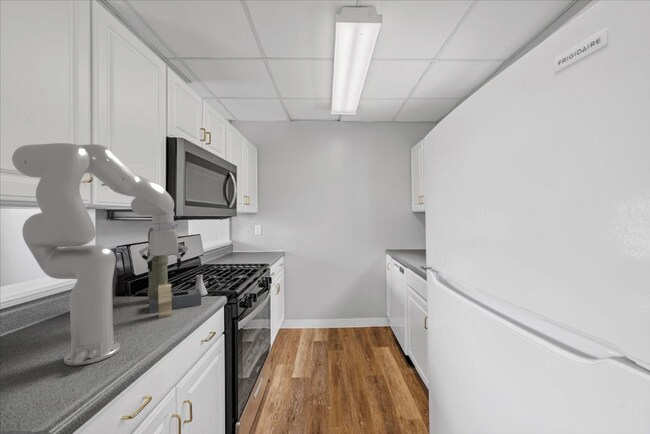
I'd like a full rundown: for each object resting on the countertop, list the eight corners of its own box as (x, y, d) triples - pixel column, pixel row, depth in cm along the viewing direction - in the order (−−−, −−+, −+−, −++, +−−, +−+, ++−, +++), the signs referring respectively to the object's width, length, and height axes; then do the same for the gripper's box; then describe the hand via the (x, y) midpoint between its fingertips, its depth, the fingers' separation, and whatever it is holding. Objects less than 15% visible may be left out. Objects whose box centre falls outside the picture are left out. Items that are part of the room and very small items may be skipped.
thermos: (169, 295, 146) (168, 226, 146) (168, 301, 135) (166, 227, 135) (149, 298, 142) (147, 227, 142) (146, 304, 131) (144, 227, 131)
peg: (171, 315, 115) (171, 285, 115) (158, 317, 113) (158, 287, 113) (171, 312, 119) (171, 283, 119) (159, 314, 117) (158, 285, 117)
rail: (201, 304, 129) (201, 293, 129) (149, 312, 120) (148, 300, 120) (199, 299, 138) (198, 288, 138) (150, 306, 128) (150, 295, 128)
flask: (210, 293, 149) (209, 274, 149) (202, 297, 142) (202, 277, 141) (196, 293, 149) (196, 274, 149) (188, 297, 142) (188, 276, 142)
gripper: (186, 226, 124) (187, 265, 124) (138, 228, 115) (140, 270, 116) (187, 226, 117) (189, 268, 117) (137, 229, 109) (138, 274, 109)
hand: (164, 269), depth 117 cm, fingers open, 9 cm apart
